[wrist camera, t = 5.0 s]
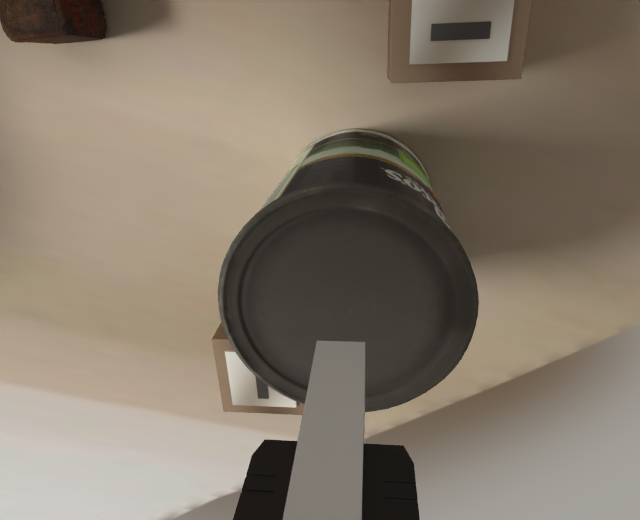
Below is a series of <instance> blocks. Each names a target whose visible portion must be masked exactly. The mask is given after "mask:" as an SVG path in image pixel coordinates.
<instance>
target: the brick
mask: <svg viewBox="0 0 640 520" xmlns="http://www.w3.org/2000/svg"><path fill="white" fill-rule="evenodd" d="M0 20H1V24H2V27H3V30H4V32H5V33H6V35H7V36H8V38H9V39H10V40H11V41H14V42H35V43H53V44H58V43H71V42H82V41H92V40H100V39H103V38H105V33H106V21H105V18H104V11H103V8H102V4H101V1H100V0H0Z"/></svg>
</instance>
